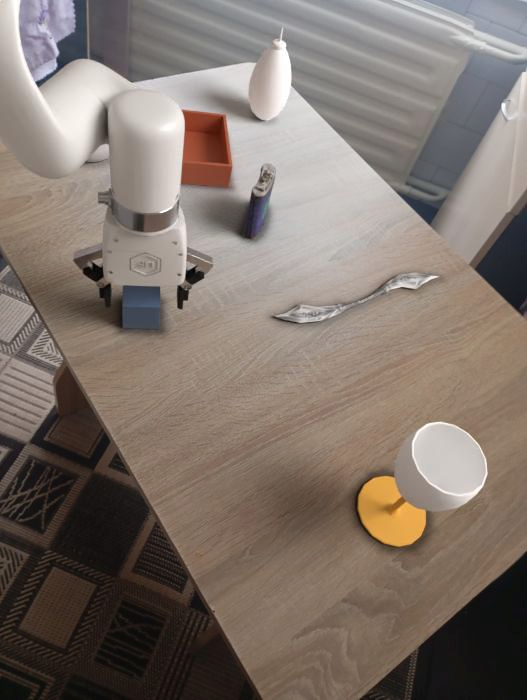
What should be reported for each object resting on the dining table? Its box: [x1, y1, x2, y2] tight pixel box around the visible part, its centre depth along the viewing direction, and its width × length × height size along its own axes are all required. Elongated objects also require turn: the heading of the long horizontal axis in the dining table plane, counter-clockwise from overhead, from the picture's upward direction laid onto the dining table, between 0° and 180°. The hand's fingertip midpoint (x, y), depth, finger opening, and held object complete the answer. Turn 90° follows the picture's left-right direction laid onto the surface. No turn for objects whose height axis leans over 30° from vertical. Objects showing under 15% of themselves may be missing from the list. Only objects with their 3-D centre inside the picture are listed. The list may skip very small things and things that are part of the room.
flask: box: [242, 163, 277, 240], centre depth 92 cm, size 9×3×11 cm, turn 166°
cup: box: [356, 421, 488, 548], centre depth 65 cm, size 9×9×16 cm
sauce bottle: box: [247, 26, 292, 121], centre depth 108 cm, size 8×8×18 cm
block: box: [121, 285, 161, 330], centre depth 79 cm, size 5×5×5 cm
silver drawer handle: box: [275, 271, 441, 324], centre depth 91 cm, size 32×1×5 cm
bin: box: [181, 109, 233, 188], centre depth 102 cm, size 12×15×4 cm
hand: (144, 300), depth 78 cm, fingers open, 9 cm apart
